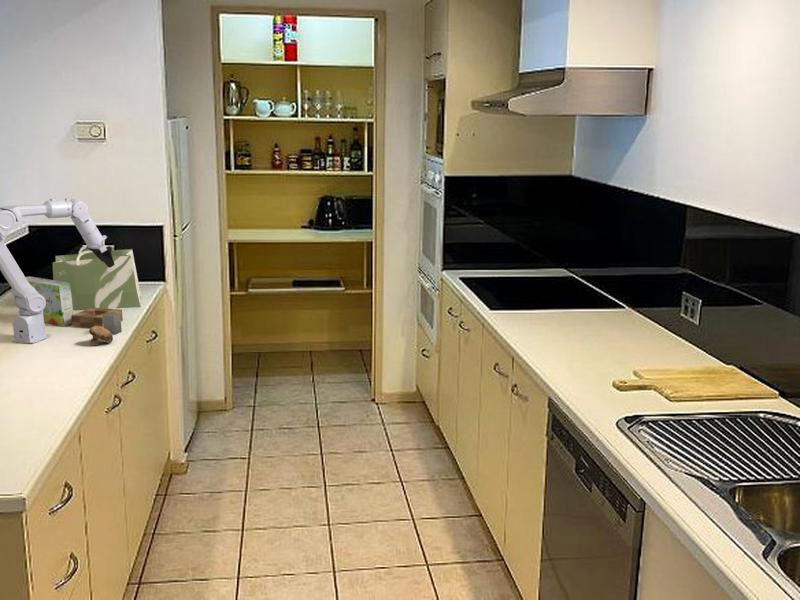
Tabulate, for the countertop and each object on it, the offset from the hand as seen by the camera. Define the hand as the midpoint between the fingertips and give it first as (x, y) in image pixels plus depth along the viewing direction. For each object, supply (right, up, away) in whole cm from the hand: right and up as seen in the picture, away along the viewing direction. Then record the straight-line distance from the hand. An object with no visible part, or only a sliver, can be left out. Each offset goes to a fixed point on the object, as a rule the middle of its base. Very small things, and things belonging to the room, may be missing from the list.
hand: (108, 263), depth 288 cm
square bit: (+5, -24, -9) cm, 26 cm away
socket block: (-4, -21, +2) cm, 22 cm away
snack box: (-23, -21, +5) cm, 31 cm away
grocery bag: (-14, -15, +28) cm, 35 cm away
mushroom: (+5, -27, -21) cm, 35 cm away
